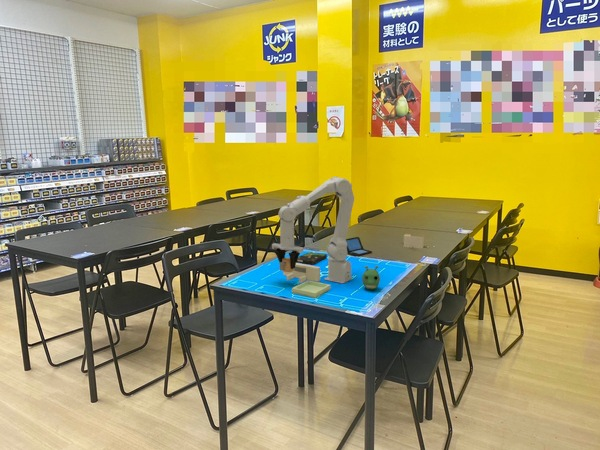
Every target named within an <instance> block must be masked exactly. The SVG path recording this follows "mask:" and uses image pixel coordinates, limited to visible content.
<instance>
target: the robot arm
mask: <svg viewBox="0 0 600 450" xmlns="http://www.w3.org/2000/svg"><path fill="white" fill-rule="evenodd" d="M352 187H353V185H352V183H351V182H350V181H349V179H346V178H341V177H338V176H333V177H330V178H329V179H327V180H325V181H324V182H323V183H322V184H321V185H319V186H318V187H317V188H315V189H314V190H312V191H311V192H309V194H306V195H298V196H296V199H294V200H293V201H291V202H288V203H287V205H284V206H281V207H280V208H279V211H278V212H277V213H278V214H277V215H278V217H279V218H280V220H279V221H280V222H279V223H280V224H279V230H280V231H279V233H280V237H279V238H280V240H279V241H280V243H276V242H275V243H274V242H273V243H272V244H271V248H272V249H273V250H274V249H275V250H274V254H275V255H276V258H277V260H278V262H279V263H278V264H280V263H281V262H282V259H283V258H286V252H287V251H288V257H290V263H291V269H294V268H295V265H296V261H297V259H298V257H299V256H301V255H300V254H302V253H303V254H304V247H303V246H302V247H301V246H299V245H295V221H294V220H295V219H296V217H297V216H298V215H300V214H301V213H304V211H306V210H307V209H309V208H310V206H311V203H313V202H315V201H316V200H318V199H319V198H322V197H323V196H325V195H326V194H336V196H337V197H338V199H340V204H339V208H338V213H337V217H336V223H335V227H334V232H333V236H332V237H331V238H330V240H329V243H328V244H327V245H326V254H327V255H328V257H327V259H328V261H327V262H328V263H327V265H328V266H327V267H328V270H327V271H328V273H327V274H328V275H327V277H325V278H324V279H323V280H324V281H328V282H329V281H330V282H334V283H340V284H345V283H347V282H348V281H351V280H352V263H351V261H348V260H347V256H348V255H349V254H348V253H347V242H346V239H347V234H348V230H349V225H350V222H351V221H350V219H351V216H352V210H353V207H354V202H355V194H354V192H353V188H352Z"/></svg>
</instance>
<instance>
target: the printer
mask: <svg viewBox="0 0 600 450" xmlns="http://www.w3.org/2000/svg"><path fill="white" fill-rule="evenodd" d="M282 272H283V271H282ZM282 276H286V281H291V280H292V279H294V278H297V279H298V280H299V281H298V283H300V284H302V283H304V282H306V281H308V280H309V281H314V282H321V267H320V266H317V265H316V266H315V265H307V264H301V263H296V265H295V268H294V271H293V272H283V275H282Z"/></svg>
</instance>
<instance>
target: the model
mask: <svg viewBox="0 0 600 450" xmlns="http://www.w3.org/2000/svg"><path fill="white" fill-rule="evenodd" d="M424 236H425V234H422V235H420V236H415V235H414V236H413V235H412V234H411V233H405V234H404V235H403V248H412V247H414V249H424V241H425V240H424V239H425V238H424Z"/></svg>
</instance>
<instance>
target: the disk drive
mask: <svg viewBox="0 0 600 450" xmlns="http://www.w3.org/2000/svg"><path fill="white" fill-rule="evenodd" d="M327 256H328V253H319V252H311V251H310V252H306V253H303V254H302V255H299V256H298V259H297V261H296V263H299V264H305V265H311V266H315V265H316V264H318V263H321V262H323V261H324V260H326V258H327V259H328V257H327ZM322 260H323V261H322ZM320 261H321V262H320Z"/></svg>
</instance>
